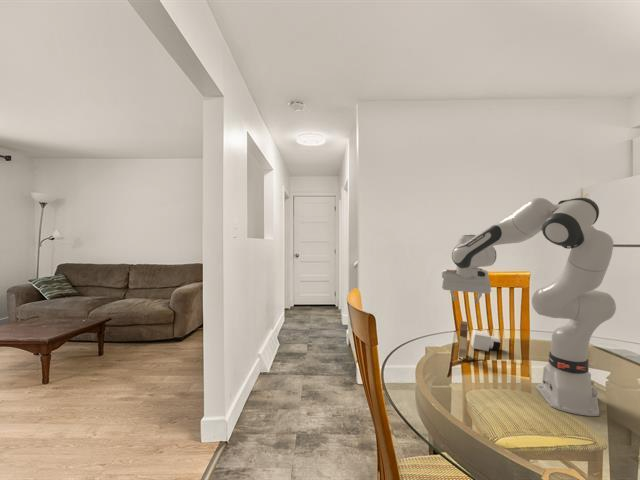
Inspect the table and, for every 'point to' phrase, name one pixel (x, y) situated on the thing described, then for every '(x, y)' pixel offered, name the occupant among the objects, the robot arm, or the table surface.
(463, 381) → the table surface
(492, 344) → the medicine bottle
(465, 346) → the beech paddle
